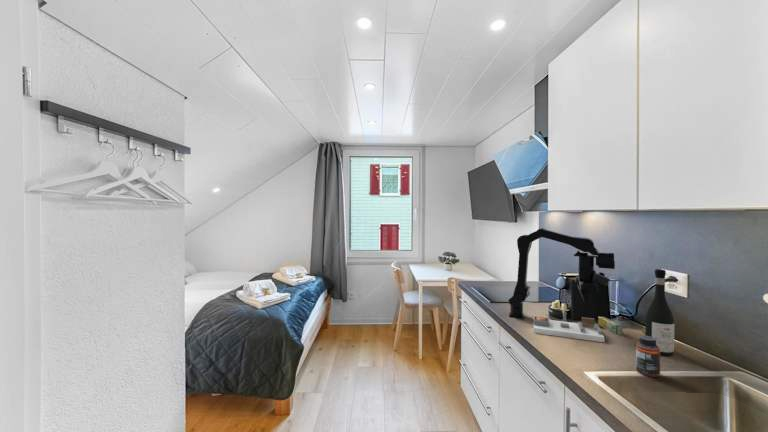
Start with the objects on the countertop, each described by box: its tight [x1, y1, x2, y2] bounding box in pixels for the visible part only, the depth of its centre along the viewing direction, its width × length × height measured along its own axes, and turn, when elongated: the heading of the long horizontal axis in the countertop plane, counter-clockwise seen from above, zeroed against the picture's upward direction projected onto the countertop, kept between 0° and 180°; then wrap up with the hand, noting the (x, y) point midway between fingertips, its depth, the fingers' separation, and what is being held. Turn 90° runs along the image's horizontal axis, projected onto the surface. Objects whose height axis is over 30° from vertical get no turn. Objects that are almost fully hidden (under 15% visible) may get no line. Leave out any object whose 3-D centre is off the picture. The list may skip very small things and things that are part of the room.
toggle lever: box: [561, 310, 568, 322], centre depth 140 cm, size 2×2×4 cm
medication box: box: [597, 316, 624, 336], centre depth 141 cm, size 12×3×4 cm, turn 0°
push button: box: [536, 316, 547, 321], centre depth 143 cm, size 4×4×2 cm
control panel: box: [533, 316, 605, 343], centre depth 139 cm, size 14×25×4 cm, turn 66°
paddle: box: [581, 316, 596, 328], centre depth 138 cm, size 1×4×4 cm, turn 66°
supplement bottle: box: [635, 335, 661, 378], centre depth 103 cm, size 6×6×11 cm
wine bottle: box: [644, 268, 675, 356], centre depth 119 cm, size 8×8×30 cm
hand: (585, 302), depth 143 cm, fingers closed
